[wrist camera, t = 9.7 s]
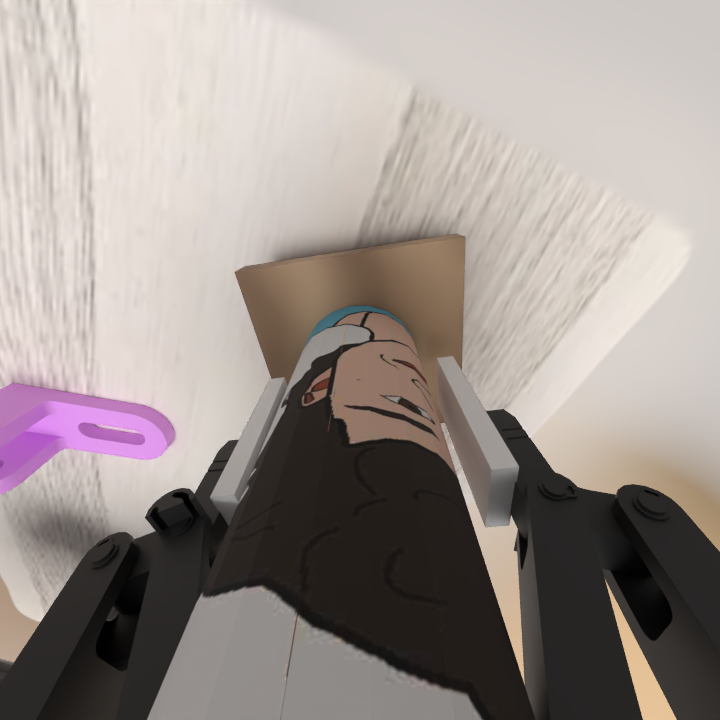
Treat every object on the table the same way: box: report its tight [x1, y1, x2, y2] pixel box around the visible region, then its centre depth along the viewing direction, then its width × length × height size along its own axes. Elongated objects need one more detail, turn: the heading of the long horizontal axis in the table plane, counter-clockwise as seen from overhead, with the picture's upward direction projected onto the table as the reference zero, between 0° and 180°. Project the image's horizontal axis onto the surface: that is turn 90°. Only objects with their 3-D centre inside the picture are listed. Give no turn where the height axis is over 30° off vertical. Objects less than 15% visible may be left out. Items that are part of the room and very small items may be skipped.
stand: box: [235, 234, 465, 423], centre depth 20 cm, size 12×12×5 cm
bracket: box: [0, 383, 174, 494], centre depth 24 cm, size 13×6×7 cm, turn 77°
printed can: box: [147, 306, 536, 720], centre depth 11 cm, size 7×7×15 cm
